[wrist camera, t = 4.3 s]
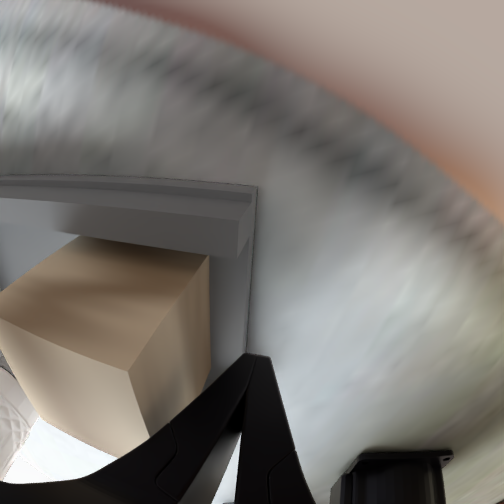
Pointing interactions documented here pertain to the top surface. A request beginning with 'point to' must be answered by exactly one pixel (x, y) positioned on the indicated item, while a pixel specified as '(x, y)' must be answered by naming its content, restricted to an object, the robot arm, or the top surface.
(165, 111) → the top surface
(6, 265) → the chute
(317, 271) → the top surface
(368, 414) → the top surface
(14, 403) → the white cup
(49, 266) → the birch block
